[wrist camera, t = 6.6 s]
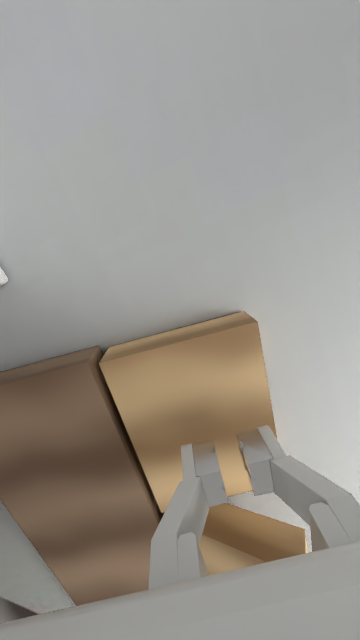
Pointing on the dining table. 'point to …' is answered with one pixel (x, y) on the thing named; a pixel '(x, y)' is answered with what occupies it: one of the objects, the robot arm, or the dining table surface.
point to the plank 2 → (246, 539)
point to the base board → (76, 477)
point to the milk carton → (3, 277)
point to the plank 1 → (191, 397)
